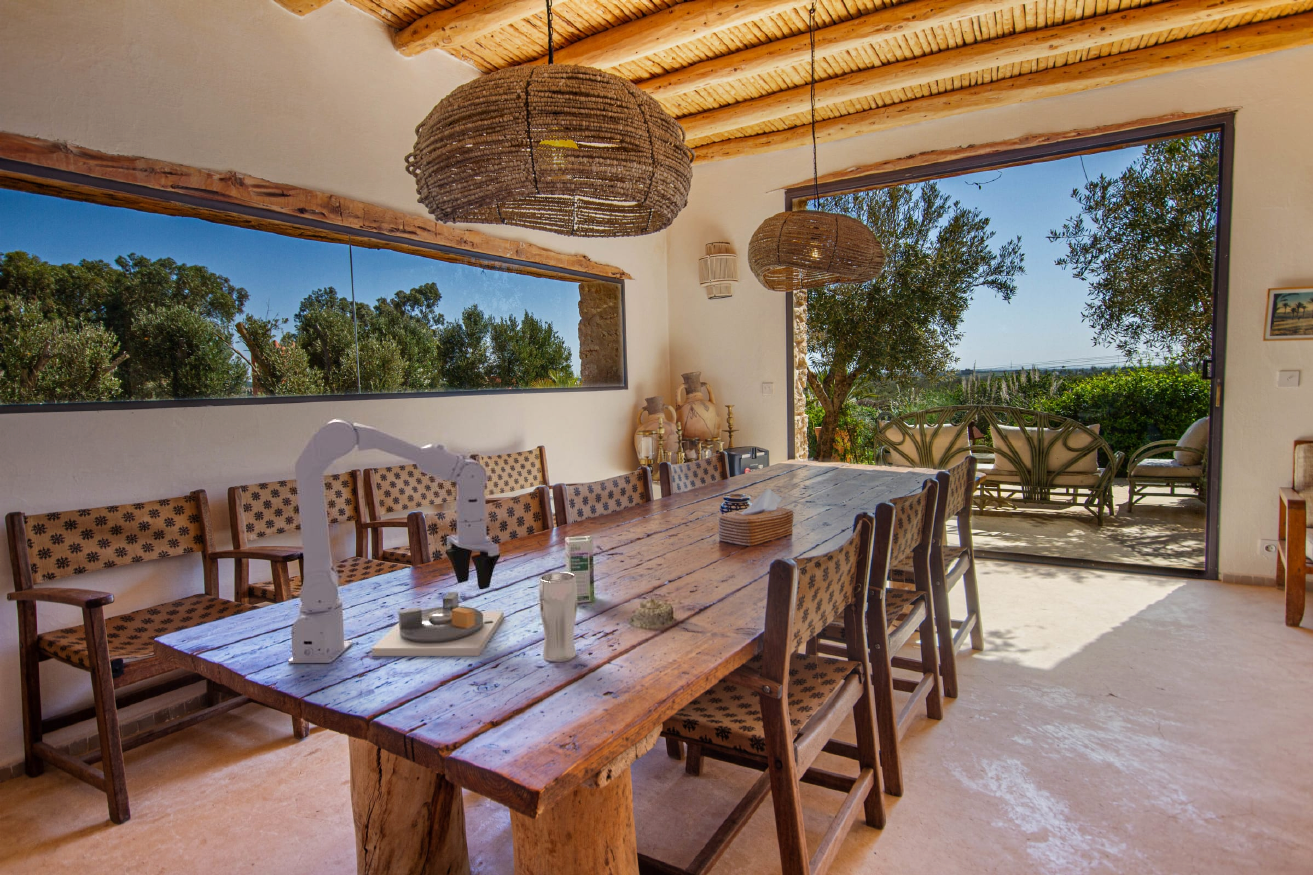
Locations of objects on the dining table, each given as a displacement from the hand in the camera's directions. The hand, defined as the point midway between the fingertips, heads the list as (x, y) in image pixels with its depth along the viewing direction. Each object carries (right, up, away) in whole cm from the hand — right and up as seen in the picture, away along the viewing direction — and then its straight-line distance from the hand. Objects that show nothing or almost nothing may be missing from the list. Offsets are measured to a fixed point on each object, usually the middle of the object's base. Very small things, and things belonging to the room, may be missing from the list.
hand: (473, 584), depth 141 cm
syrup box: (+20, -8, +19) cm, 29 cm away
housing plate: (-6, -10, -2) cm, 11 cm away
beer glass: (+19, -11, -12) cm, 25 cm away
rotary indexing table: (-6, -8, -2) cm, 10 cm away
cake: (+36, -9, +5) cm, 38 cm away
